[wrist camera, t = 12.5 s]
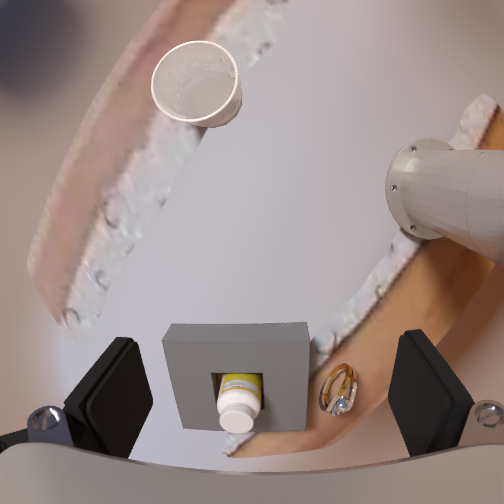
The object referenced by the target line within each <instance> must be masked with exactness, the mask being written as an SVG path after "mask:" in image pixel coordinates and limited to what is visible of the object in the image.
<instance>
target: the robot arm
mask: <svg viewBox="0 0 504 504" xmlns="http://www.w3.org/2000/svg"><path fill="white" fill-rule="evenodd" d="M410 148H412V151H411V150H410ZM391 186H393V189H392V190H391ZM385 191H386V198H387V203H388V206H389V210H390V211H391V213H392V215H393V217H394V219H395V220H396V221H397V223H398V224H399V225H400V226H401V227H402V228H403V229H404V230H405V231H407V232H408V233H410V234H411V235H414V236H416V237H418V238H422V239H427V240H429V239H438V238H442V237H446V238H448V239H450V240H452V241H454V242H456V243H458V244H460V245H462V246H464V247H466V248H468V249H470V250H471V251H473V252H475V253H477V254H479V255H481V256H483V257H485V258H487V259H489V260H491V261H493V262H494V263H497V264H499V265H501V266H504V150H455V149H454V148H453V147H452V146H450V145H449V144H448V143H445V142H443V141H441V140H437V139H432V138H424V139H418V140H415V141H412V142H410V143H408V144H407V145H405V146H404V147H402V148H401V149H400V150H399V151H398V153H397V154H396V155H395V157H394V158H393V160H392V161H391V164H390V166H389V169H388V172H387V177H386V187H385ZM411 225H412V228H410V227H411ZM388 400H389V404H390V407H391V409H392V411H393V414H394V416H395V419H396V421H397V424H398V426H399V428H400V431H401V434H402V436H403V439H404V441H405V444H406V447H407V449H408V452H409V455H410V457H409V458H404V459H398V460H393V461H387V462H381V463H375V464H369V465H362V466H355V467H346V468H337V469H328V470H315V471H296V472H233V471H215V470H202V469H192V468H183V467H175V466H167V465H160V464H154V463H147V462H142V461H136V460H131V459H128V457H129V455H130V453H131V451H132V449H133V446H134V444H135V442H136V440H137V438H138V436H139V433H140V431H141V429H142V427H143V425H144V423H145V421H146V418H147V416H148V414H149V412H150V410H151V408H152V405H153V397H152V394H151V390H150V387H149V383H148V380H147V376H146V373H145V369H144V365H143V362H142V358H141V354H140V350H139V346H138V344H137V342H134V340H133V339H132V338H127V337H116V338H115V339H114V341H113V342H112V343H111V344H110V345H109V347H108V348H107V349H106V350H105V352H104V353H103V354H102V355H101V356H100V358H99V359H98V360H97V361H96V362H95V364H94V365H93V366H92V367H91V369H90V370H89V371H88V372H87V373H86V375H85V376H84V377H83V378H82V380H81V381H80V382H79V383H78V385H77V386H76V387H75V388H74V390H73V391H72V392H71V394H70V395H69V396H68V397H67V399H66V400H65V401H64V404H65V407H64V408H63V409H60V408H59V407H56V406H44V407H41V408H39V409H37V410H35V411H34V412H33V413H32V414H31V415H30V416H29V418H28V421H27V428H26V429H23V430H20V431H16V432H13V433H9V434H6V435H2V436H0V504H504V406H503V405H502V404H500V403H499V402H496V401H492V400H482V401H479V402H477V403H474V401H473V399H472V398H471V395H470V394H469V393H468V391H467V390H466V388H465V387H464V385H463V384H462V383H461V381H460V380H459V378H458V377H457V376H456V374H455V373H454V372H453V370H452V369H451V368H450V366H449V365H448V364H447V362H446V361H445V360H444V358H443V357H442V356H441V354H440V353H439V352H438V350H437V349H436V348H435V346H434V345H433V344H432V343H431V341H430V340H429V339H428V337H427V336H426V335H425V334H424V332H423V331H422V330H421V329H417V330H408V331H405V333H404V335H401V336H400V338H399V343H398V349H397V354H396V359H395V364H394V369H393V374H392V379H391V383H390V388H389V392H388Z"/></svg>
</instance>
